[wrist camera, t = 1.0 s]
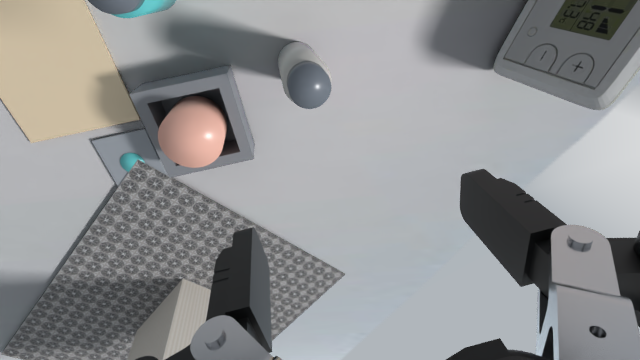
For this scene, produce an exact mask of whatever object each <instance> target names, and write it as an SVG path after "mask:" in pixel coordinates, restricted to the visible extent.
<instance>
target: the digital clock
mask: <svg viewBox="0 0 640 360" xmlns="http://www.w3.org/2000/svg"><path fill="white" fill-rule="evenodd" d="M493 69H494V71H495V72H496V73H497V74H499V75H501V76H504V77H506V78H509V79H512V80H514V81H517V82H520V83H522V84H525V85H527V86H530V87H533V88H535V89H538V90H541V91H543V92H546V93H548V94H551V95H554V96H556V97H559V98H562V99H564V100H567V101H569V102H572V103H575V104H577V105H580V106H583V107H586V108H590V109H593V110H603V109H605V108H607V107H609V106H610V105H611V104H613V103H614V102H615V100H616V99H617V98H618V97H619V96H620V94H621V93H622V92H623V90H624V89H625V88H626V86H627V85H628V84H629V83H630V81H631V80H632V79H633V77H634V76H635V75H636V73H637V72H638V71H639V70H640V0H528V1H527V3H526V5H525V7H524V8H523V10H522V12H521V14H520V15H519V17H518V19H517V21H516V22H515V24H514V26H513V28H512V30H511V31H510V33H509V35H508V37H507V38H506V40H505V42H504V44H503V46H502V47H501V49H500V51H499V53H498V55H497V57H496V60H495V63H494V68H493Z"/></svg>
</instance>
